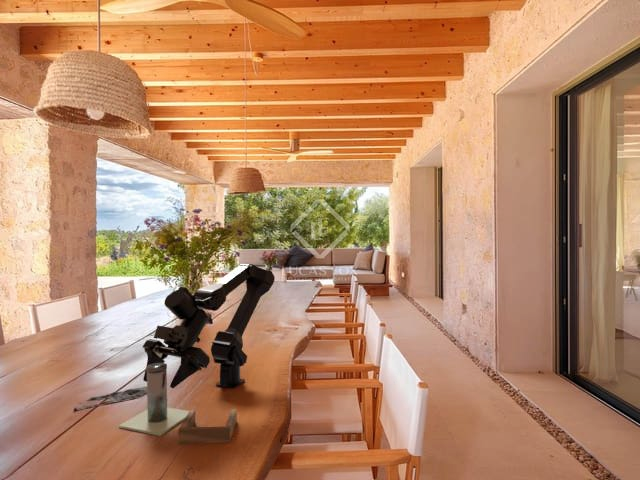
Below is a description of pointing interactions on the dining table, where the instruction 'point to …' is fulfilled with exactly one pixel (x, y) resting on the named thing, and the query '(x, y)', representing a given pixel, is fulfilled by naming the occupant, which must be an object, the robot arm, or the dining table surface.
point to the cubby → (206, 430)
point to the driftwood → (118, 396)
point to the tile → (159, 428)
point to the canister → (157, 392)
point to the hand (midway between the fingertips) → (157, 384)
